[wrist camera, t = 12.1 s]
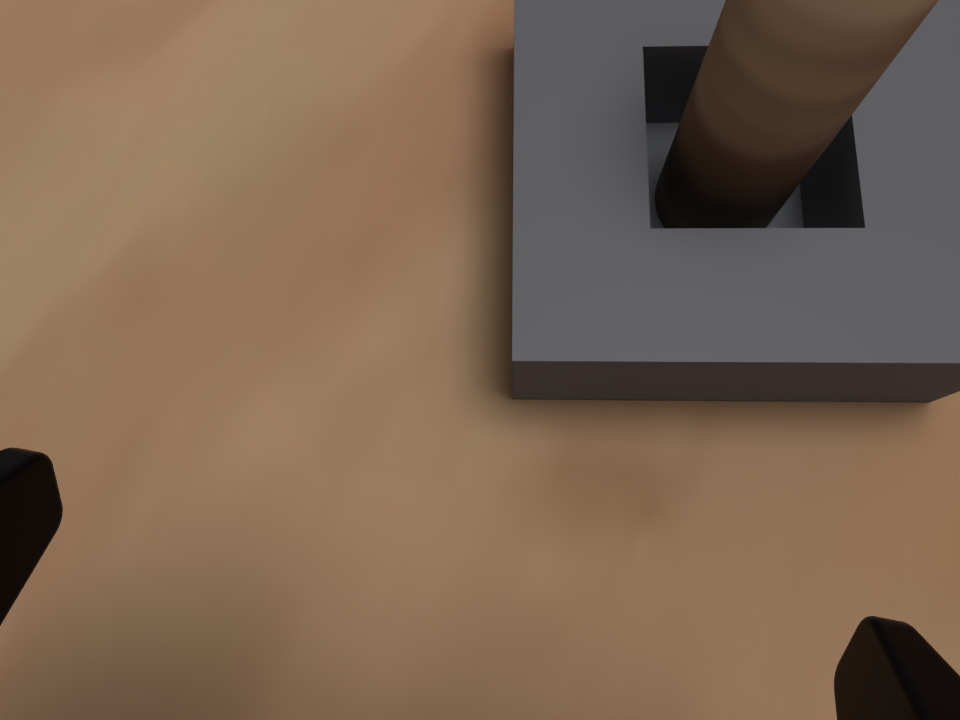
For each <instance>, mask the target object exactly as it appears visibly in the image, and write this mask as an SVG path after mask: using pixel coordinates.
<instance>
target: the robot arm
mask: <svg viewBox="0 0 960 720" xmlns="http://www.w3.org/2000/svg"><path fill="white" fill-rule="evenodd" d="M62 512H63V507H62V502H61V498H60V493H59V489H58V485H57V481H56V476H55V472H54V468H53V464H52V461H51V460H50V458H49V457H48V456H47V455H45V454H43V453H41V452H36V451H31V450H26V449H20V448H7V449H4V450H1V451H0V625H1V624H2V622H3V620H4V619H5V617H6V615H7V614H8V612H9V610H10V609H11V607H12V605H13V604H14V602H15V600H16V599H17V597H18V595H19V593H20V592H21V590H22V588H23V587H24V585H25V583H26V582H27V580H28V578H29V577H30V575H31V573H32V572H33V570H34V568H35V567H36V565H37V563H38V562H39V560H40V558H41V557H42V555H43V553H44V552H45V550H46V548H47V547H48V545H49V543H50V541H51V540H52V538H53V536H54V535H55V533H56V531H57V529H58V527H59V525H60V522H61V519H62ZM834 692H835V703H836V713H837V720H960V676H959V675H958V673H957V672H956V671H955V670H954V669H953V668H952V667H951V666H950V665H949V664H948V663H947V662H946V661H945V660H944V659H943V658H942V657H941V656H940V655H939V654H938V653H937V651H936V650H935V649H934V648H933V647H932V646H931V645H930V644H929V643H928V642H927V641H926V640H925V639H924V638H923V637H922V636H921V635H920V634H919V633H918V632H917V631H916V630H915V629H914V628H913V627H912V626H910V625H909V624H907V623H904V622H901V621H896V620H891V619H886V618H881V617H876V616H868V617H866V618H864V619H863V620H862V621H861V622H860V624H859V625H858V627H857V629H856V631H855V633H854V635H853V636H852V638H851V640H850V642H849V644H848V646H847V648H846V650H845V652H844V653H843V655H842V657H841V659H840V661H839V663H838V665H837V668H836V672H835V678H834Z"/></svg>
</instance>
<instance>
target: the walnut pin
mask: <svg viewBox="0 0 960 720" xmlns="http://www.w3.org/2000/svg"><path fill="white" fill-rule="evenodd" d="M937 2H938V0H726V1H725V3H724V6H723V9H722V11H721V14H720V17H719V19H718V22H717V25H716V27H715V30H714V33H713V35H712V38H711V41H710V43H709V46H708V49H707V51H706V54H705V57H704V59H703V62H702V65H701V67H700V70H699V73H698V75H697V78H696V81H695V83H694V86H693V89H692V91H691V94H690V96H689V99H688V102H687V104H686V107H685V110H684V112H683V115H682V118H681V120H680V123H679V126H678V128H677V131H676V134H675V136H674V139H673V142H672V144H671V147H670V150H669V152H668V155H667V158H666V160H665V163H664V166H663V168H662V171H661V174H660V176H659V179H658V182H657V185H656V189H655V207H656V211H657V214H658V217H659V219H660V221H661V223H662V225H663V226H664V228H665V229H675V228H767V226H768V225H769V224H770V222H771V221H772V220H773V218H774V217H775V216H776V214H777V213H778V212H779V210H780V209H781V208H782V206H783V205H784V204H785V202H786V201H787V200H788V199H789V197H790V196H791V195H792V193H793V192H794V191H795V189H796V188H797V187H798V185H799V184H800V183H801V181H802V180H803V179H804V177H805V176H806V175H807V173H808V172H809V171H810V169H811V168H812V167H813V165H814V164H815V163H816V162H817V160H818V159H819V158H820V156H821V155H822V154H823V152H824V151H825V150H826V148H827V147H828V146H829V144H830V143H831V142H832V140H833V139H834V138H835V136H836V135H837V134H838V132H839V131H840V130H841V129H842V127H843V126H844V125H845V123H846V122H847V121H848V119H849V118H850V117H851V115H852V114H853V113H854V111H855V110H856V109H857V107H858V106H859V105H860V103H861V102H862V101H863V99H864V98H865V97H866V95H867V94H868V93H869V92H870V90H871V89H872V88H873V86H874V85H875V84H876V82H877V81H878V80H879V78H880V77H881V76H882V74H883V73H884V72H885V70H886V69H887V68H888V66H889V65H890V64H891V62H892V61H893V60H894V58H895V57H896V56H897V55H898V53H899V52H900V51H901V49H902V48H903V47H904V45H905V44H906V43H907V41H908V40H909V39H910V37H911V36H912V35H913V33H914V32H915V31H916V29H917V28H918V27H919V25H920V24H921V23H922V22H923V20H924V19H925V18H926V16H927V15H928V14H929V12H930V11H931V10H932V8H933V7H934V6H935V4H936V3H937Z"/></svg>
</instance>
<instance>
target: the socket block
mask: <svg viewBox="0 0 960 720" xmlns="http://www.w3.org/2000/svg"><path fill="white" fill-rule="evenodd" d="M725 1H726V0H514V133H513V289H512V391H513V399H569V400H704V401H839V402H932V401H935V400H937V399H940V398H942V397H945V396H948V395H950V394H953V393H956V392H958V391H960V0H938V2H937V3H936V4H935V6H934V7H933V8H932V10H931V11H930V12H929V14H928V15H927V16H926V18H925V19H924V20H923V22H922V23H921V24H920V25H919V27H918V28H917V29H916V31H915V32H914V33H913V35H912V36H911V37H910V39H909V40H908V41H907V43H906V44H905V45H904V47H903V48H902V49H901V51H900V52H899V53H898V55H897V56H896V57H895V58H894V60H893V61H892V62H891V64H890V65H889V66H888V68H887V69H886V70H885V72H884V73H883V74H882V76H881V77H880V78H879V80H878V81H877V82H876V84H875V85H874V86H873V88H872V89H871V90H870V92H869V93H868V94H867V95H866V97H865V98H864V99H863V101H862V102H861V103H860V105H859V106H858V107H857V109H856V110H855V111H854V113H853V114H852V115H851V117H850V118H849V119H848V121H847V122H846V123H845V125H844V126H843V127H842V129H841V130H840V131H839V132H838V134H837V135H836V136H835V138H834V139H833V140H832V142H831V143H830V144H829V146H828V147H827V148H826V150H825V151H824V152H823V154H822V155H821V156H820V158H819V159H818V160H817V162H816V163H815V164H814V165H813V167H812V168H811V169H810V171H809V172H808V173H807V175H806V176H805V177H804V179H803V180H802V181H801V183H800V184H799V185H798V187H797V188H796V189H795V191H794V192H793V193H792V195H791V196H790V197H789V199H788V200H787V201H786V202H785V204H784V205H783V206H782V208H781V209H780V210H779V212H778V213H777V214H776V216H775V217H774V218H773V220H772V221H771V222H770V224H769V225H768V226H767V228H675V229H665V228H664V226H663V225H662V223H661V221H660V219H659V217H658V214H657V211H656V207H655V189H656V185H657V182H658V179H659V176H660V174H661V171H662V168H663V166H664V163H665V160H666V158H667V155H668V152H669V150H670V147H671V144H672V142H673V139H674V136H675V134H676V131H677V128H678V126H679V123H680V120H681V118H682V115H683V112H684V110H685V107H686V104H687V102H688V99H689V96H690V94H691V91H692V89H693V86H694V83H695V81H696V78H697V75H698V73H699V70H700V67H701V65H702V62H703V59H704V57H705V54H706V51H707V49H708V46H709V43H710V41H711V38H712V35H713V33H714V30H715V27H716V25H717V22H718V19H719V17H720V14H721V11H722V9H723V6H724V3H725Z"/></svg>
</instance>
